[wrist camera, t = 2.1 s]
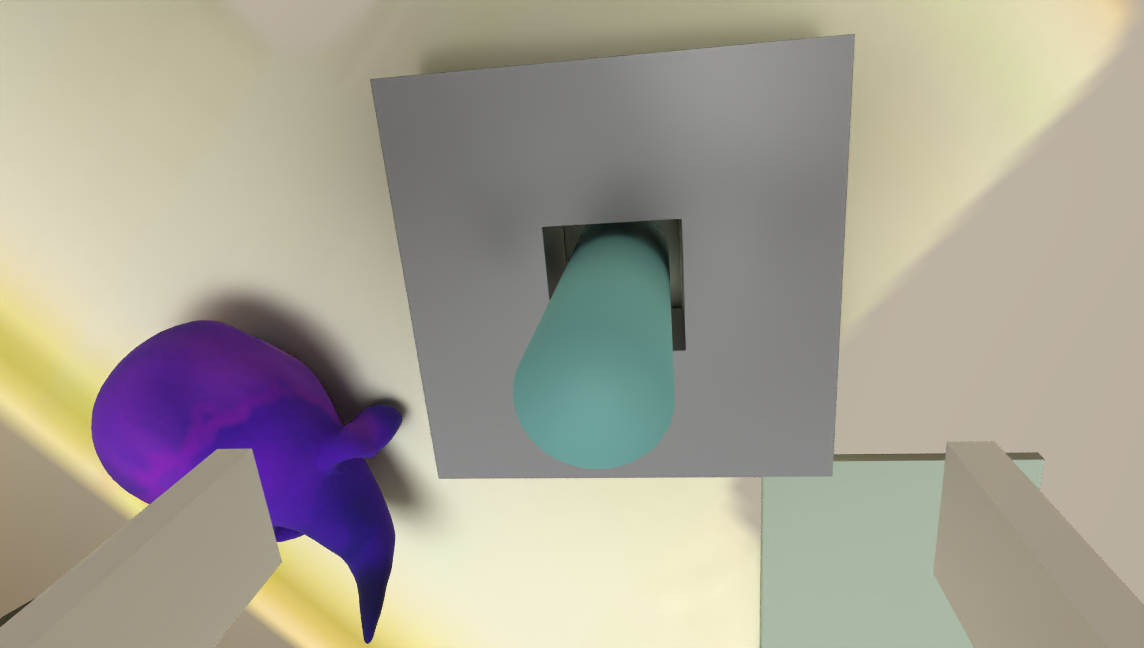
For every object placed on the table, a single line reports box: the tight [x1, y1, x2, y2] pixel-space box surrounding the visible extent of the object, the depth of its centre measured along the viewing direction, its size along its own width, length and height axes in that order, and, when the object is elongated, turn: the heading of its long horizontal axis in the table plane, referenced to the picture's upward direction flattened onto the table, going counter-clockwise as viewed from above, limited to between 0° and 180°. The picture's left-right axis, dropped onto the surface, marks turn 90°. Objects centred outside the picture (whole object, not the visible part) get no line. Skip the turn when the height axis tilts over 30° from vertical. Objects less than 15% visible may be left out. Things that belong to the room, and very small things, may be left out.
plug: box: [513, 220, 675, 469], centre depth 23 cm, size 4×4×14 cm
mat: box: [760, 453, 1045, 648], centre depth 33 cm, size 12×12×1 cm
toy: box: [91, 320, 402, 644], centre depth 31 cm, size 9×10×15 cm
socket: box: [370, 34, 855, 479], centre depth 28 cm, size 16×16×5 cm
